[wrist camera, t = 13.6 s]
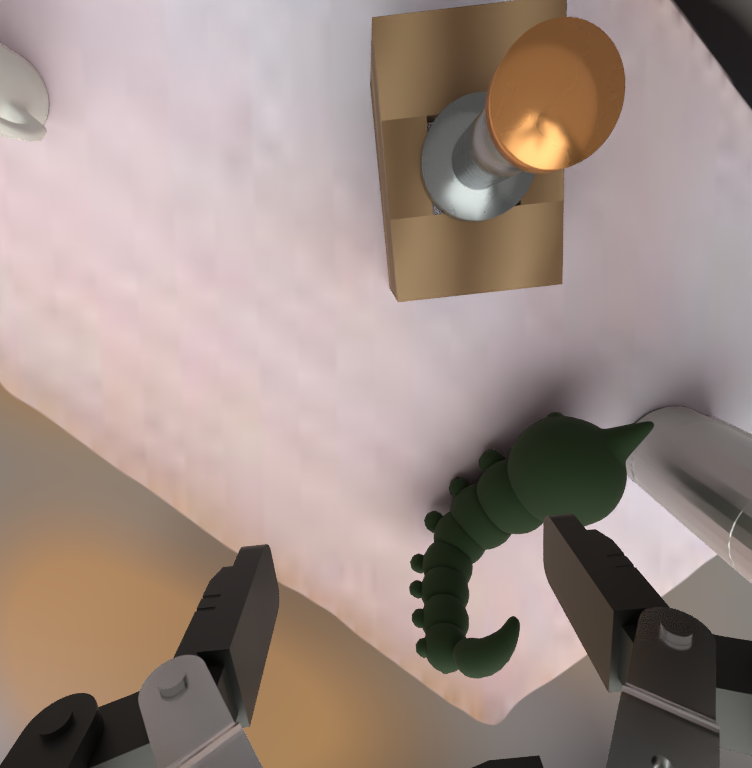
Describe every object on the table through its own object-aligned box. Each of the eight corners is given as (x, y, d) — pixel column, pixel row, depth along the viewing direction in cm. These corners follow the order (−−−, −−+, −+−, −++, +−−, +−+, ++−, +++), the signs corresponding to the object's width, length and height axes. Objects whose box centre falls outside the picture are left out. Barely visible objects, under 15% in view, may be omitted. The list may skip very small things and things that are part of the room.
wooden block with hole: (507, 70, 35) (566, -6, 25) (510, 274, 40) (562, 284, 30) (370, 86, 36) (372, 17, 25) (389, 288, 40) (398, 302, 30)
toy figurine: (447, 556, 51) (635, 417, 44) (475, 738, 33) (798, 553, 26) (389, 507, 49) (576, 352, 42) (385, 672, 31) (709, 452, 24)
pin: (492, 129, 34) (665, -36, 14) (494, 222, 36) (649, 190, 16) (404, 139, 34) (455, -11, 14) (411, 232, 36) (465, 211, 16)
